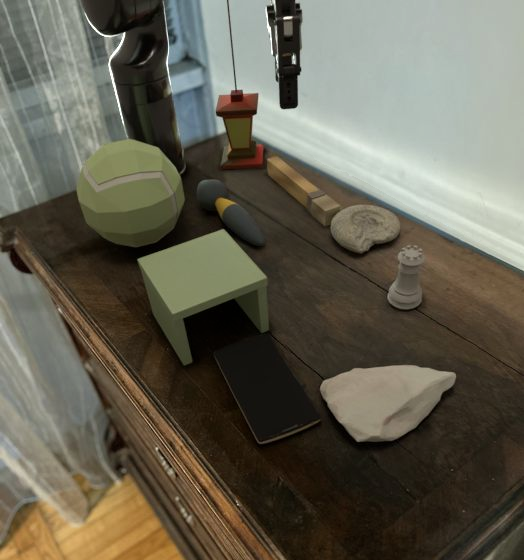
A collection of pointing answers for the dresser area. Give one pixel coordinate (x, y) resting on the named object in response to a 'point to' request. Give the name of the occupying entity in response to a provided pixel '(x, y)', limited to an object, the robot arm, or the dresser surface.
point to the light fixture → (239, 126)
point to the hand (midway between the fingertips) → (286, 93)
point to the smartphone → (266, 389)
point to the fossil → (364, 227)
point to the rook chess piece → (407, 280)
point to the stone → (384, 399)
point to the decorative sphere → (130, 193)
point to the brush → (303, 191)
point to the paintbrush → (229, 211)
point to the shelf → (202, 284)
